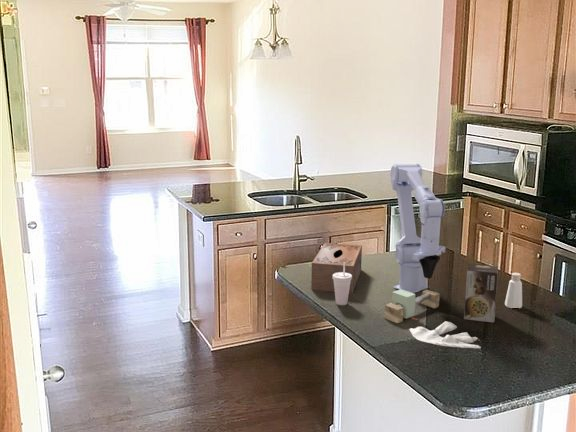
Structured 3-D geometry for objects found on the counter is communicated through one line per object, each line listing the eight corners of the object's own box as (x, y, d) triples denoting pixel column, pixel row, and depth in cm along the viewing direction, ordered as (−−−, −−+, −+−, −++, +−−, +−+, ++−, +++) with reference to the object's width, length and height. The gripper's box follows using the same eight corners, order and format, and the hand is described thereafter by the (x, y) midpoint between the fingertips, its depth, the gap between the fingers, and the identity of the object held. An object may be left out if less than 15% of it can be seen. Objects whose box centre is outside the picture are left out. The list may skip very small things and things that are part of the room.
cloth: (398, 330, 181) (398, 322, 180) (457, 318, 189) (458, 311, 189) (442, 359, 163) (442, 351, 162) (505, 345, 171) (505, 337, 171)
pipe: (429, 296, 200) (430, 290, 199) (435, 298, 198) (436, 292, 197) (388, 312, 186) (388, 305, 186) (394, 314, 184) (394, 308, 184)
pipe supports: (419, 299, 203) (420, 287, 202) (445, 308, 196) (446, 295, 195) (378, 315, 189) (378, 302, 188) (404, 325, 182) (404, 312, 181)
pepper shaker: (522, 304, 199) (526, 272, 197) (521, 310, 195) (524, 277, 192) (505, 301, 202) (508, 270, 199) (503, 307, 197) (506, 275, 194)
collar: (399, 310, 193) (400, 289, 191) (414, 315, 188) (415, 294, 187) (391, 313, 190) (392, 292, 188) (406, 318, 186) (407, 297, 184)
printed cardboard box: (494, 315, 190) (499, 266, 187) (494, 323, 184) (498, 272, 181) (464, 311, 193) (468, 263, 189) (463, 319, 187) (466, 269, 184)
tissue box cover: (324, 267, 237) (324, 242, 234) (361, 270, 234) (361, 245, 231) (311, 290, 212) (311, 262, 210) (352, 293, 209) (353, 266, 207)
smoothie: (350, 307, 196) (351, 266, 193) (330, 305, 197) (331, 264, 194) (352, 300, 202) (353, 260, 199) (333, 298, 203) (333, 258, 200)
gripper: (426, 243, 186) (424, 285, 189) (454, 235, 195) (451, 275, 198) (408, 238, 191) (406, 279, 194) (435, 231, 200) (433, 270, 203)
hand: (427, 277), depth 196 cm, fingers closed
